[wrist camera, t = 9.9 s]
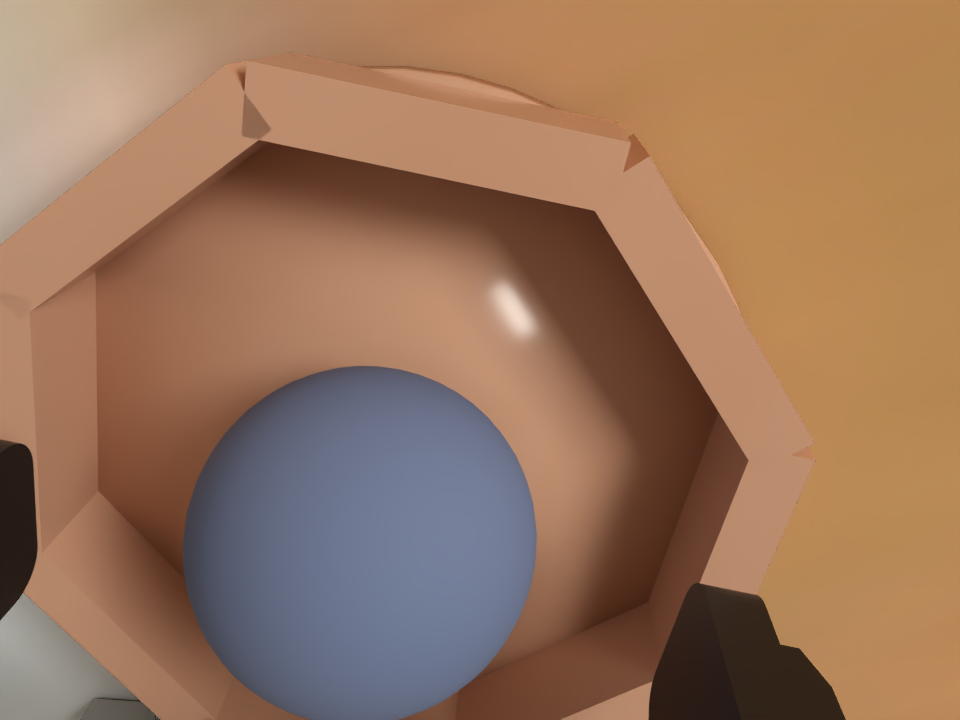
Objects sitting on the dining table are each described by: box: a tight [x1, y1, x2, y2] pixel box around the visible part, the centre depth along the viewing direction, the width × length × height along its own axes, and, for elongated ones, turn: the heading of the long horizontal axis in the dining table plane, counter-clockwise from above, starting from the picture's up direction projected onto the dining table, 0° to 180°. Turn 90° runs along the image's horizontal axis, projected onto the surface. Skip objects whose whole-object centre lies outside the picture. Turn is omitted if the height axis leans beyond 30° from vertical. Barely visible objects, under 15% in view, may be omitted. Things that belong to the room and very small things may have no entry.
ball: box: [183, 366, 537, 720], centre depth 10 cm, size 4×4×4 cm
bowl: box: [0, 52, 816, 720], centre depth 12 cm, size 11×11×2 cm
